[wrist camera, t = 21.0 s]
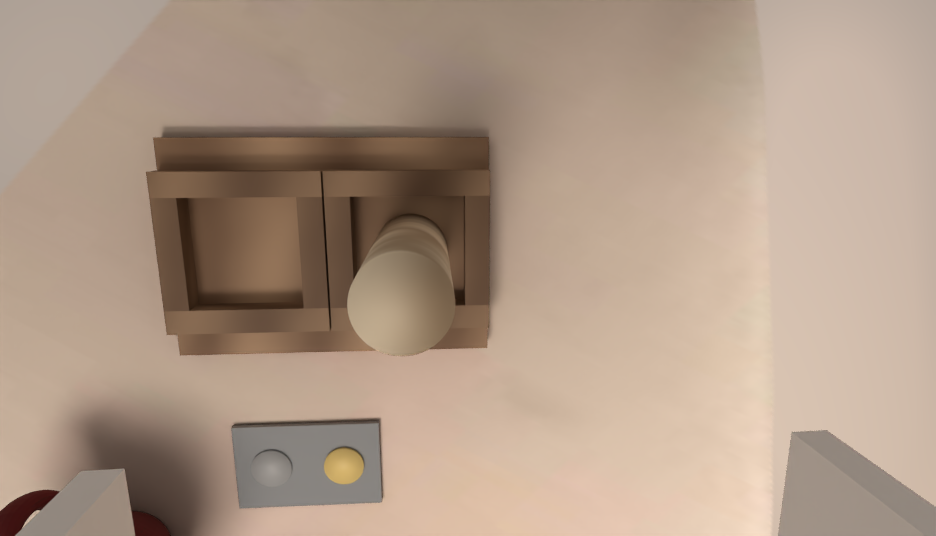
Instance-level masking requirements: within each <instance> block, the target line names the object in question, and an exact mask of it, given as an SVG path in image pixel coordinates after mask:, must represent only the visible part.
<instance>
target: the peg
mask: <svg viewBox="0 0 936 536" xmlns="http://www.w3.org/2000/svg"><path fill="white" fill-rule="evenodd" d="M347 308H348V315H349V319H350V322H351V324H352V326H353V328H354V330H355V332H356V333H357V334H358V336H359V337H360V338H361V339H362V340H363V341H364V342H365V343H366V344H367V345H369V346H370V347H372V348H373V349H375V350H377V351H379V352H382V353H385V354H388V355H393V356H410V355H415V354H419V353H422V352H424V351H426V350H428V349H430V348H431V347H433V346H435V345H436V344H437V343H438V342H439V341H440V340H441V339H442V338H443V337H444V336H445V334H446V333H447V332H448V330H449V328H450V326H451V324H452V321H453V318H454V314H455V295H454V289H453V282H452V276H451V270H450V263H449V257H448V250H447V244H446V239H445V236H444V234H443V232H442V230H441V229H440V228H439V226H438V225H437V224H436V223H435V222H433V221H432V220H431V219H429V218H427V217H425V216H422V215H418V214H403V215H400V216H397V217H395V218H393V219H391V220H390V221H389V222H387V223H386V224H385V225H384V227H383V228H382V229H381V231H380V233H379V234H378V236H377V238H376V240H375V242H374V243H373V245H372V247H371V249H370V251H369V253H368V254H367V256H366V258H365V260H364V262H363V264H362V265H361V267H360V269H359V271H358V273H357V275H356V276H355V278H354V280H353V282H352V284H351V287H350V290H349V293H348V299H347Z"/></svg>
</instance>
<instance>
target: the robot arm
mask: <svg viewBox="0 0 936 536" xmlns="http://www.w3.org/2000/svg"><path fill="white" fill-rule="evenodd" d="M15 536H135V531H134V525H133V519H132V512H131V506H130V500H129V494H128V487H127V481H126V475H125V469H107V470H89V471H81V472H80V473H79V474H78V475H76V476H75V477H74V478H73V479H72V480H71V481H70V482H69V483H68V484H67V485H66V486H65V487H64V488H63V489H62V490H61V491H60V492H59V493H58V494H57V495H56V496H55V497H54V498H53V499H52V500H51V501H50V502H49V503H48V504H47V505H46V506H45V507H44V508H43V509H42V510H41V511H40V512H39V513H38V514H37V515H36V516H35V517H34V518H33V519H32V520H31V521H30V522H29V523H28V524H27V525H26V526H24V527H23V528H22V529H21V530H20V531H19V532H18V533H17V534H16V535H15ZM778 536H936V507H935V506H933V505H932V504H931V503H929V502H928V501H926V500H925V499H923V498H922V497H921V496H919V495H918V494H916V493H915V492H913V491H912V490H911V489H909V488H908V487H906V486H905V485H903V484H902V483H901V482H899V481H898V480H896V479H895V478H894V477H892V476H891V475H889V474H888V473H886V472H885V471H884V470H882V469H881V468H879V467H878V466H876V465H875V464H874V463H872V462H871V461H870V460H868V459H867V458H865V457H864V456H862V455H861V454H860V453H858V452H857V451H855V450H854V449H853V448H851V447H850V446H848V445H847V444H845V443H844V442H842V441H841V440H840V439H838V438H837V437H835V436H834V435H833V434H831V433H830V432H828V431H827V430H823V431H805V432H792V434H791V441H790V448H789V456H788V464H787V471H786V479H785V486H784V494H783V501H782V509H781V517H780V524H779V532H778Z"/></svg>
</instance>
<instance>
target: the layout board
mask: <svg viewBox="0 0 936 536" xmlns="http://www.w3.org/2000/svg"><path fill="white" fill-rule="evenodd" d="M153 140H154V148H155V156H156V164H157V171H151V172H146V176H147V183H148V191H149V199H150V207H151V215H152V222H153V230H154V238H155V246H156V254H157V262H158V269H159V277H160V285H161V293H162V301H163V308H164V316H165V324H166V332H167V335H178V342H179V350H180V355H212V354H253V353H293V352H333V351H374V350H375V349H373V348H372V347H370V346H369V345H367V344H366V343H365V342H364V341H363V340H362V339H361V338H360V337H359V336H358V334H357V333H356V332H355V330H354V328H353V326H352V324H351V322H350V319H349V315H348V308H347V299H348V293H349V290H350V287H351V284H352V282H353V280H354V278H355V276H356V275H357V273H358V271H359V269H360V267H361V265H362V264H363V262H364V260H365V258H366V256H367V254H368V253H369V251H370V249H371V247H372V245H373V243H374V242H375V240H376V238H377V236H378V234H379V233H380V231H381V229H382V228H383V227H384V225H385V224H386V223H387V222H389V221H390V220H391V219H393V218H395V217H397V216H400V215H403V214H418V215H422V216H425V217H427V218H429V219H431V220H432V221H433V222H435V223H436V224H437V225H438V226H439V228H440V229H441V230H442V232H443V234H444V236H445V239H446V244H447V250H448V257H449V263H450V270H451V276H452V282H453V289H454V295H455V314H454V318H453V321H452V324H451V326H450V328H449V330H448V332H447V333H446V334H445V336H444V337H443V338H442V339H441V340H440V341H439V342H438V343H437V344H436V345H435V346H433V347H431V348H430V349H454V348H487V328H489V238H490V170H489V137H199V138H153Z"/></svg>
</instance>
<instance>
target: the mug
mask: <svg viewBox="0 0 936 536" xmlns="http://www.w3.org/2000/svg"><path fill="white" fill-rule="evenodd" d="M58 493H59V491H54V490H40V491H34V492H31V493H28V494H25V495H23V496H21V497H19V498H17V499H15V500H14V501H12V502H10V503H9V504H8V505H7V506H6V507H5V508H3V509H2V510H1V511H0V536H15V535H16V534H17V533H18V532H19V531H20V530H21V529H22V527H23V525H24V523H25V522H26V520H27V519H28V518H29V516H30V515H31V514H32V513H33V512H35V511H36V510H42V509H43V508H44V507H45V506H46V505H47V504H48V503H49V502H50V501H51V500H52V499H53V498H54V497H55V496H56V495H57V494H58ZM131 512H132V519H133V525H134V531H135V536H170V533H169V531H168V529H167V528H166V526H165V525H164V524H163V523H162V522H161V521H160V520H158V519H157V518H155V517H154V516H152V515H149V514H147V513H143V512H138V511H131Z"/></svg>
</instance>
